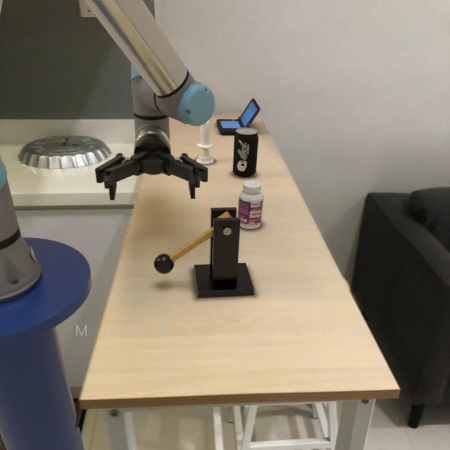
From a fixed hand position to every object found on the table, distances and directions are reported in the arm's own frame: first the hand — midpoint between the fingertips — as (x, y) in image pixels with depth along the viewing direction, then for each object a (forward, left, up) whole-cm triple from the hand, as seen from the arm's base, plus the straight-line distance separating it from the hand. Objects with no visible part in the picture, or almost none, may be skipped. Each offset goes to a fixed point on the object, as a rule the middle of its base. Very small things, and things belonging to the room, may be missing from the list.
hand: (152, 192), depth 78 cm
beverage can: (+25, +50, -16) cm, 58 cm away
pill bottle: (+21, +19, -16) cm, 32 cm away
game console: (+30, +94, -16) cm, 100 cm away
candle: (+15, +61, -16) cm, 65 cm away
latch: (+7, -4, -9) cm, 13 cm away
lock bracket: (+12, -4, -16) cm, 20 cm away
